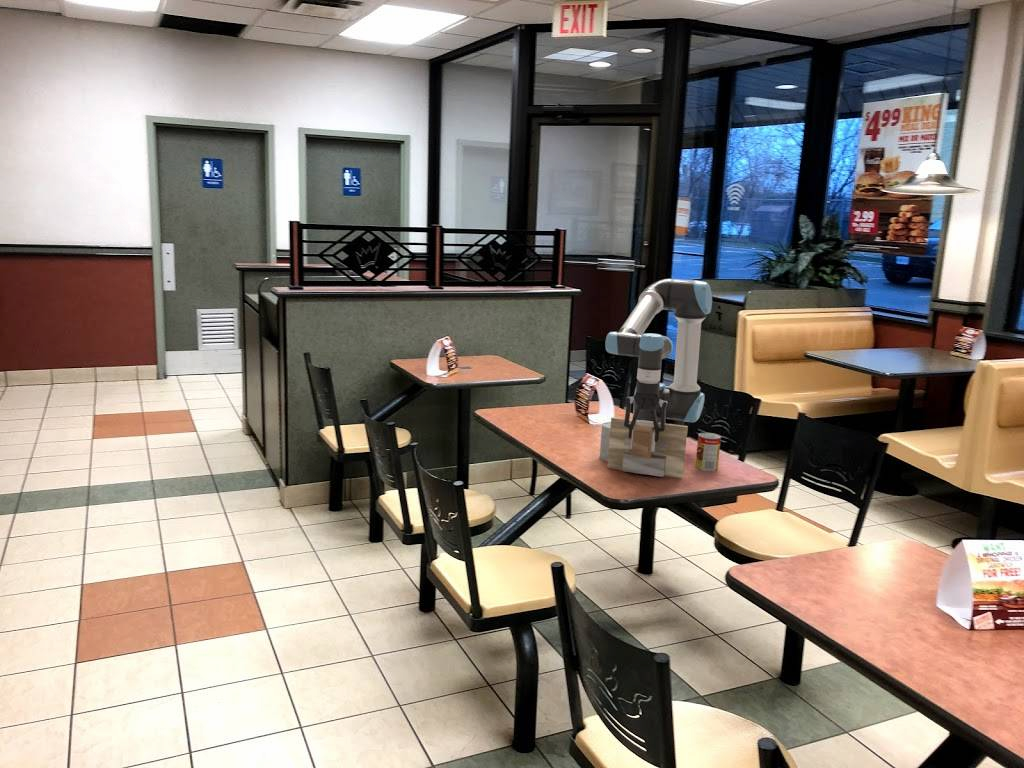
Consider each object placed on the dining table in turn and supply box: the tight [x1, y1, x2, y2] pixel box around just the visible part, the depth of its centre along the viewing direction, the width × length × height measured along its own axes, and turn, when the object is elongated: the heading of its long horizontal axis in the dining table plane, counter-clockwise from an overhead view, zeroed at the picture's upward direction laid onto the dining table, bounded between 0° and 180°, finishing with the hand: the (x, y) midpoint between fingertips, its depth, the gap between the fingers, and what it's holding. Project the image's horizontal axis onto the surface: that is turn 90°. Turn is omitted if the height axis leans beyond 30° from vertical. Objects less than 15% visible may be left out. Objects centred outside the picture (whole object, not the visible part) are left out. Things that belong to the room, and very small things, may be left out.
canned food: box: [694, 432, 722, 472], centre depth 295 cm, size 8×8×12 cm
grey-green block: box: [598, 421, 611, 462], centre depth 302 cm, size 10×10×12 cm
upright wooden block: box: [631, 420, 655, 459], centre depth 277 cm, size 13×6×10 cm, turn 162°
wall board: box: [607, 416, 689, 479], centre depth 284 cm, size 6×26×18 cm, turn 72°
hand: (642, 449), depth 276 cm, fingers closed on upright wooden block, 6 cm apart
